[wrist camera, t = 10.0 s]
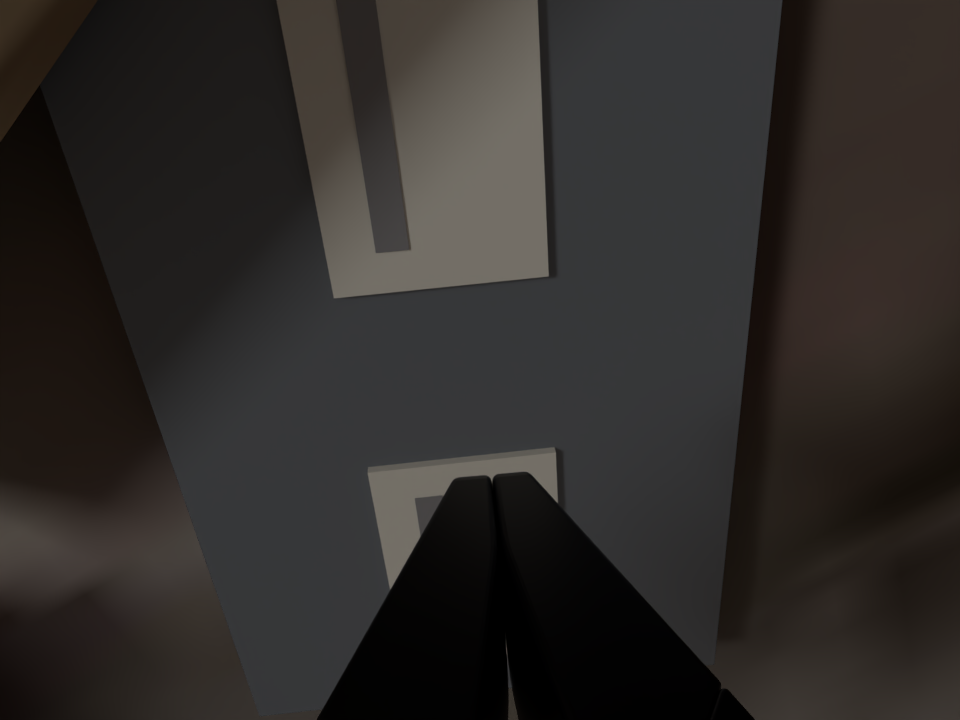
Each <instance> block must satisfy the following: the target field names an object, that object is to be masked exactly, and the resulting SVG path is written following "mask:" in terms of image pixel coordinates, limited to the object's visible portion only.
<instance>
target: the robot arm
mask: <svg viewBox="0 0 960 720" xmlns="http://www.w3.org/2000/svg"><path fill="white" fill-rule="evenodd" d="M506 647H507V650H506ZM507 658H508V665H509V673H510V680H511V685H512V691H513V696H514V701H515V706H516V710H517V715H518V719H519V720H755V719H754V718H753V717H752V716H751V715H750V714H749V713H748V711H747V710H746V709H745V708H744V707H743V706H742V705H741V704H740V702H739V701H738V700H737V699H736V698H735V697H734V696H733V695H732V694H731V692H730V691H729V690H727V689H721V683H720V681H719V680H718V679H717V678H716V677H715V675H714V674H713V673H712V672H711V671H710V670H709V669H708V668H707V667H706V666H705V664H704V663H703V662H702V661H701V660H700V659H699V658H698V657H697V656H696V655H695V653H694V652H693V651H692V650H691V649H690V648H689V647H688V646H687V645H686V644H685V642H684V641H683V640H682V639H681V638H680V637H679V636H678V635H677V634H676V633H675V632H674V630H673V629H672V628H671V627H670V626H669V625H668V624H667V623H666V622H665V621H664V619H663V618H662V617H661V616H660V615H659V614H658V613H657V612H656V611H655V610H654V608H653V607H652V606H651V605H650V604H649V603H648V602H647V601H646V600H645V599H644V597H643V596H642V595H641V594H640V593H639V592H638V591H637V590H636V589H635V588H634V586H633V585H632V584H631V583H630V582H629V581H628V580H627V579H626V578H625V577H624V575H623V574H622V573H621V572H620V571H619V570H618V569H617V568H616V567H615V566H614V564H613V563H612V562H611V561H610V560H609V559H608V558H607V557H606V556H605V555H604V554H603V552H602V551H601V550H600V549H599V548H598V547H597V546H596V545H595V544H594V543H593V541H592V540H591V539H590V538H589V537H588V536H587V535H586V534H585V533H584V532H583V530H582V529H581V528H580V527H579V526H578V525H577V524H576V523H575V522H574V521H573V519H572V518H571V517H570V516H569V515H568V514H567V513H566V512H565V511H564V510H563V508H562V507H561V506H560V505H559V504H558V503H557V502H556V501H555V500H554V499H553V497H552V496H551V495H550V494H549V493H548V492H547V491H546V490H545V489H544V488H543V487H542V485H541V484H540V483H539V482H538V481H537V480H536V479H535V478H534V477H533V476H532V475H531V474H530V473H528V472H514V473H502V474H496V475H495V476H494V477H493V479H492V481H491V478H490V477H489V476H487V475H479V476H467V477H458V478H455V479H454V480H453V481H452V482H451V484H450V485H449V487H448V489H447V491H446V492H445V494H444V496H443V498H442V500H441V501H440V503H439V505H438V507H437V508H436V510H435V512H434V514H433V515H432V517H431V519H430V521H429V522H428V524H427V526H426V528H425V529H424V531H423V533H422V535H421V537H420V538H419V540H418V542H417V544H416V545H415V547H414V549H413V551H412V552H411V554H410V556H409V558H408V559H407V561H406V563H405V565H404V566H403V568H402V570H401V572H400V573H399V575H398V577H397V579H396V581H395V582H394V584H393V586H392V588H391V589H390V591H389V593H388V595H387V596H386V598H385V600H384V602H383V603H382V605H381V607H380V609H379V610H378V612H377V614H376V616H375V618H374V619H373V621H372V623H371V625H370V626H369V628H368V630H367V632H366V633H365V635H364V637H363V639H362V640H361V642H360V644H359V646H358V647H357V649H356V651H355V653H354V655H353V656H352V658H351V660H350V662H349V663H348V665H347V667H346V669H345V670H344V672H343V674H342V676H341V677H340V679H339V681H338V683H337V684H336V686H335V688H334V690H333V691H332V693H331V695H330V697H329V699H328V700H327V702H326V704H325V706H324V707H323V709H322V711H321V713H320V714H319V716H318V718H317V720H508V703H509V700H508V665H507Z"/></svg>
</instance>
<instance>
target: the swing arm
mask: <svg viewBox="0 0 960 720" xmlns="http://www.w3.org/2000/svg"><path fill="white" fill-rule="evenodd" d="M97 1H98V0H0V142H1V140H2V139H3V138H4V136H5V135H6V133H7V132H8V130H9V129H10V127H11V126H12V124H13V123H14V122H15V120H16V119H17V117H18V116H19V114H20V113H21V111H22V110H23V108H24V107H25V106H26V104H27V103H28V101H29V100H30V98H31V97H32V95H33V94H34V92H35V91H36V90H37V88H38V87H39V85H40V84H41V82H42V81H43V79H44V78H45V76H46V75H47V74H48V72H49V71H50V69H51V68H52V66H53V65H54V63H55V62H56V60H57V59H58V57H59V56H60V55H61V53H62V52H63V50H64V49H65V47H66V46H67V44H68V43H69V41H70V40H71V39H72V37H73V36H74V34H75V33H76V31H77V30H78V28H79V27H80V25H81V24H82V23H83V21H84V20H85V18H86V17H87V15H88V14H89V12H90V11H91V9H92V8H93V7H94V5H95V4H96V2H97Z"/></svg>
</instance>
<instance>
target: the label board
mask: <svg viewBox="0 0 960 720" xmlns="http://www.w3.org/2000/svg"><path fill="white" fill-rule="evenodd" d="M781 9H782V0H98V1H97V2H96V4H95V5H94V7H93V8H92V9H91V11H90V12H89V14H88V15H87V17H86V18H85V20H84V21H83V23H82V24H81V25H80V27H79V28H78V30H77V31H76V33H75V34H74V36H73V37H72V39H71V40H70V41H69V43H68V44H67V46H66V47H65V49H64V50H63V52H62V53H61V55H60V56H59V57H58V59H57V60H56V62H55V63H54V65H53V66H52V68H51V69H50V71H49V72H48V74H47V75H46V76H45V78H44V79H43V81H42V82H41V84H40V87H41V90H42V92H43V95H44V98H45V101H46V104H47V107H48V110H49V113H50V115H51V118H52V121H53V124H54V127H55V130H56V133H57V136H58V138H59V141H60V144H61V147H62V150H63V153H64V156H65V159H66V161H67V164H68V167H69V170H70V173H71V176H72V179H73V182H74V184H75V187H76V190H77V193H78V196H79V199H80V202H81V204H82V207H83V210H84V213H85V216H86V219H87V222H88V225H89V227H90V230H91V233H92V236H93V239H94V242H95V245H96V248H97V250H98V253H99V256H100V259H101V262H102V265H103V268H104V271H105V273H106V276H107V279H108V282H109V285H110V288H111V291H112V294H113V296H114V299H115V302H116V305H117V308H118V311H119V314H120V317H121V319H122V322H123V325H124V328H125V331H126V334H127V337H128V339H129V342H130V345H131V348H132V351H133V354H134V357H135V360H136V362H137V365H138V368H139V371H140V374H141V377H142V380H143V383H144V385H145V388H146V391H147V394H148V397H149V400H150V403H151V406H152V408H153V411H154V414H155V417H156V420H157V423H158V426H159V429H160V431H161V434H162V437H163V440H164V443H165V446H166V449H167V451H168V454H169V457H170V460H171V463H172V466H173V469H174V472H175V474H176V477H177V480H178V483H179V486H180V489H181V492H182V495H183V497H184V500H185V503H186V506H187V509H188V512H189V515H190V518H191V520H192V523H193V526H194V529H195V532H196V535H197V538H198V541H199V543H200V546H201V549H202V552H203V555H204V558H205V561H206V564H207V566H208V569H209V572H210V575H211V578H212V581H213V584H214V586H215V589H216V592H217V595H218V598H219V601H220V604H221V607H222V609H223V612H224V615H225V618H226V621H227V624H228V627H229V630H230V632H231V635H232V638H233V641H234V644H235V647H236V650H237V653H238V655H239V658H240V661H241V664H242V667H243V670H244V673H245V676H246V678H247V681H248V684H249V687H250V690H251V693H252V696H253V698H254V701H255V704H256V707H257V710H258V713H259V716H267V715H276V714H284V713H293V712H302V711H311V710H319V709H323V707H324V706H325V704H326V702H327V700H328V699H329V697H330V695H331V693H332V691H333V690H334V688H335V686H336V684H337V683H338V681H339V679H340V677H341V676H342V674H343V672H344V670H345V669H346V667H347V665H348V663H349V662H350V660H351V658H352V656H353V655H354V653H355V651H356V649H357V647H358V646H359V644H360V642H361V640H362V639H363V637H364V635H365V633H366V632H367V630H368V628H369V626H370V625H371V623H372V621H373V619H374V618H375V616H376V614H377V612H378V610H379V609H380V607H381V605H382V603H383V602H384V600H385V598H386V596H387V595H388V593H389V591H390V589H391V588H392V586H393V584H394V582H395V581H396V579H397V577H398V575H399V573H400V572H401V570H402V568H403V566H404V565H405V563H406V561H407V559H408V558H409V556H410V554H411V552H412V551H413V549H414V547H415V545H416V544H417V542H418V540H419V538H420V537H421V535H422V533H423V531H424V529H425V528H426V526H427V524H428V522H429V521H430V519H431V517H432V515H433V514H434V512H435V510H436V508H437V507H438V505H439V503H440V501H441V500H442V498H443V496H444V494H445V492H446V491H447V489H448V487H449V485H450V484H451V482H452V481H453V480H454V479H455V478H458V477H467V476H479V475H487V476H489V477H490V478H491V481H492V479H493V477H494V476H495V475H496V474H502V473H514V472H528V473H530V474H531V475H532V476H533V477H534V478H535V479H536V480H537V481H538V482H539V483H540V484H541V485H542V487H543V488H544V489H545V490H546V491H547V492H548V493H549V494H550V495H551V496H552V497H553V499H554V500H555V501H556V502H557V503H558V504H559V505H560V506H561V507H562V508H563V510H564V511H565V512H566V513H567V514H568V515H569V516H570V517H571V518H572V519H573V521H574V522H575V523H576V524H577V525H578V526H579V527H580V528H581V529H582V530H583V532H584V533H585V534H586V535H587V536H588V537H589V538H590V539H591V540H592V541H593V543H594V544H595V545H596V546H597V547H598V548H599V549H600V550H601V551H602V552H603V554H604V555H605V556H606V557H607V558H608V559H609V560H610V561H611V562H612V563H613V564H614V566H615V567H616V568H617V569H618V570H619V571H620V572H621V573H622V574H623V575H624V577H625V578H626V579H627V580H628V581H629V582H630V583H631V584H632V585H633V586H634V588H635V589H636V590H637V591H638V592H639V593H640V594H641V595H642V596H643V597H644V599H645V600H646V601H647V602H648V603H649V604H650V605H651V606H652V607H653V608H654V610H655V611H656V612H657V613H658V614H659V615H660V616H661V617H662V618H663V619H664V621H665V622H666V623H667V624H668V625H669V626H670V627H671V628H672V629H673V630H674V632H675V633H676V634H677V635H678V636H679V637H680V638H681V639H682V640H683V641H684V642H685V644H686V645H687V646H688V647H689V648H690V649H691V650H692V651H693V652H694V653H695V655H696V656H697V657H698V658H699V659H700V660H701V661H702V662H703V663H704V664H705V665H714V662H715V652H716V643H717V633H718V623H719V613H720V604H721V594H722V584H723V574H724V565H725V555H726V545H727V535H728V526H729V516H730V506H731V496H732V487H733V477H734V467H735V458H736V448H737V438H738V428H739V419H740V409H741V399H742V389H743V380H744V370H745V360H746V350H747V341H748V331H749V321H750V311H751V302H752V292H753V282H754V272H755V263H756V253H757V243H758V233H759V224H760V214H761V204H762V195H763V185H764V175H765V165H766V156H767V146H768V136H769V126H770V117H771V107H772V97H773V87H774V78H775V68H776V58H777V48H778V39H779V29H780V19H781ZM506 650H507V647H506ZM507 665H508V658H507ZM508 688H512V685H511V680H510V673H509V665H508Z"/></svg>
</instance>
